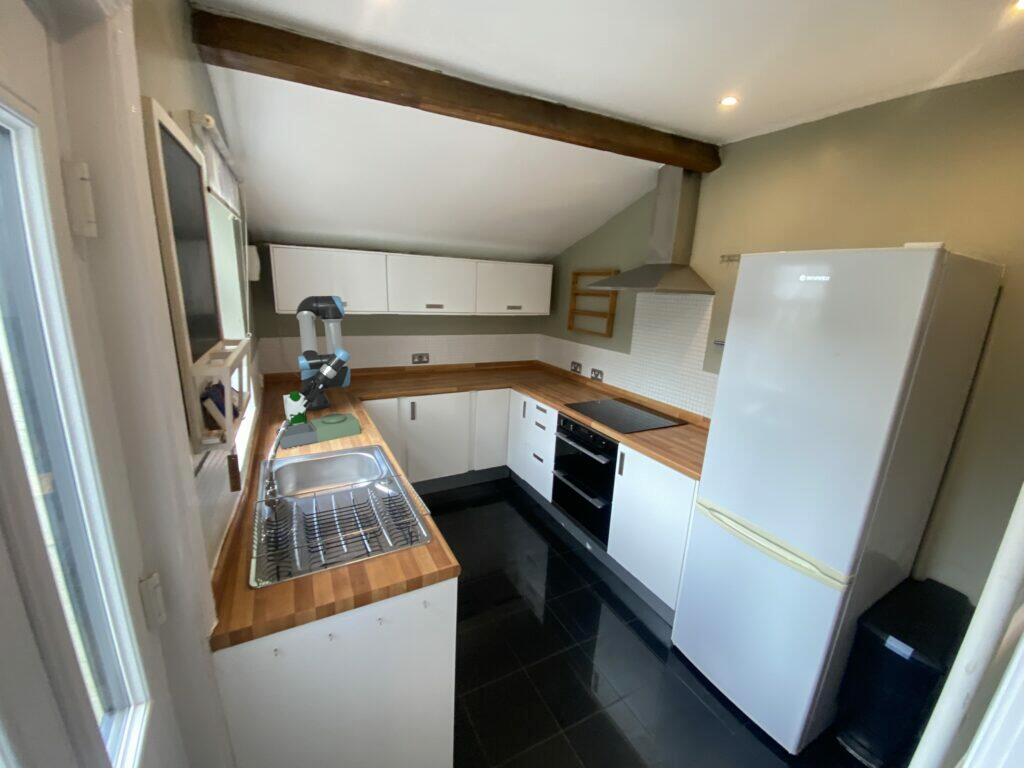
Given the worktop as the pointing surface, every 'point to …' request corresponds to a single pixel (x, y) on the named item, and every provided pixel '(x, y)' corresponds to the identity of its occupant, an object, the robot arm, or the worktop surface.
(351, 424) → the side socket deck
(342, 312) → the robot arm
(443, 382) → the worktop surface
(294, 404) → the soya milk
